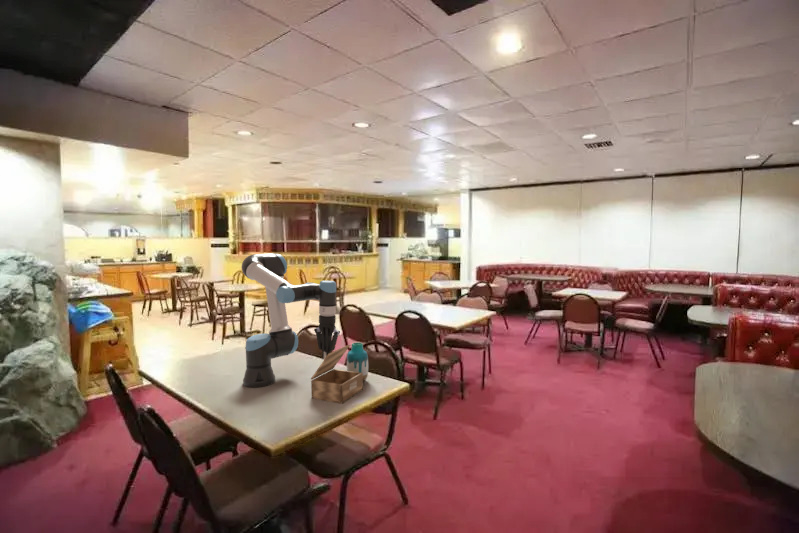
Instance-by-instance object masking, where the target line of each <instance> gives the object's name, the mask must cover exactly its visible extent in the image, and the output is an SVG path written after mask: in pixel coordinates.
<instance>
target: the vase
mask: <svg viewBox="0 0 799 533" xmlns="http://www.w3.org/2000/svg"><path fill="white" fill-rule="evenodd" d="M363 344H364V343H362V342H360V341H359V342H352V343H351V350H349V351H348V352H347V355H346V371H352V372H359V373H363V382H364V381H366V380H367V379H368V375H369V356H368V353H367V351H366V350H364V345H363Z"/></svg>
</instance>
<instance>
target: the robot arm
mask: <svg viewBox="0 0 799 533" xmlns="http://www.w3.org/2000/svg"><path fill="white" fill-rule="evenodd" d="M287 269H288V263H287V261H286V259H285V256H283V255H282V254H279V253H273V252H272V253H255V254H250V255H248V256H246V257H245V258H244V259H243V261H242V263H241V272H242V273H243V275H244V276H245V277H246V278H247V279H249V280H251V281H256V282H257V283H258V284H260V285H261V286H263V287H265V288H264V289H265V295H266V300H267V301H266V302H267V306H268V316H269V320H270V321H269V322H270V330H269V331H268V333H264V332H263V333H258V334H254V335H251V336H250V337H247V339H246V340H245V348H244V349H245V361H246V362H245V364H246V366H245V367H246V368H245V369H246V370H245V372H244V376H243V379H242V382H243V383H242V384H243V386H244V387H247V388H261V387H262V388H263V387H266V386H267V387H268V386H269V385H273V384H274V383H275V382H276V375H275V373H274V370H273V367H272V359H277V358H281V357H283V356H284V357H285V356H289V355H291V354H294V353H295V352H296V351H297V349H298V347H299V337H298V334H297V333H296V331H294V330H293V329H292V327H291V326H290V325H289V322H288V315H287V308H286V304H290V303H297V302H303V301H311V300H316V301H318V302H319V304H318V313H319V315H318V323H319V324H318V327H316V328H314V330H313V331H314V333H315V335H316V342H317V346H318V350H321V351H322V354H321V355H322V359H323V361H324V360H325V358H326V356H327V355H328V354H329V353H331V352H334V351H335V349H336V345H337V342H338V337H339V335H340V333H341V331H340V330H338V329H337V327H336V320H337V318H336V316H337V315H336V313H337V311H336V310H337V305H336V304H337V283H336V281H334V280H320V281H319V283H316V282H313V281H312V282H305V283H303V284H293V283H290V282H289V281H287V280H286V279H284V278H285V274H286V273H287Z"/></svg>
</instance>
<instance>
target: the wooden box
mask: <svg viewBox="0 0 799 533" xmlns="http://www.w3.org/2000/svg"><path fill="white" fill-rule="evenodd" d="M310 382H311V383H310V384H311V386H310V387H311V399H314V400H319V401H325V402H330V403H337V404H340V405H341V404H342V405H343V404H344V403H346V402H347V401H349V400H350V399H352V398H353V397H355V396H356V395H358V394H359V393H360V392H362V391H364V381H363V373H359V372H352V371H347V370H344V369H338V368H337V369H336V368H333V369H332V370H330V371H328V372H326V373H324V374H322V375H320V376H318V377H316V378H314V379H312V380H311V381H310ZM351 397H352V398H351Z"/></svg>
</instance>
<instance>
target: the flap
mask: <svg viewBox="0 0 799 533" xmlns="http://www.w3.org/2000/svg"><path fill="white" fill-rule="evenodd" d="M350 346H351V344H347V345H345V346H343V347H341V348H338V349H336V350H333V351H331V353H329V354H328V355H327V356H326V358H325V360H324V359H323V361H322V362H321V363H320V365H319V367H318V368H317V369H316V371H315V372H314V374H312V376H311V377H310V380H311V381H312V380H313V379H315V378H317V377H319V376H321V375H323V374H325V373H327V372H329V371H331V370H333V369H335V367H336V366H337V364H338V362H339V361H340V360H341V359H342V357H343V356H344V354H345V353H346V352H347V350H348V349H349V348H350Z"/></svg>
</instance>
